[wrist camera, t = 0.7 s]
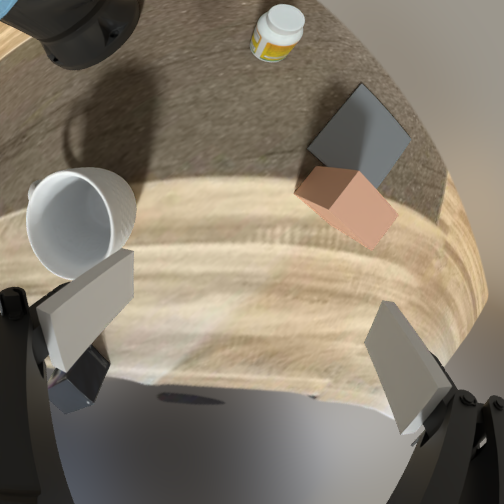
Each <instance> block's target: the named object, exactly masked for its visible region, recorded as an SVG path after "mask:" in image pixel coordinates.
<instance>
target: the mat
mask: <svg viewBox="0 0 504 504" xmlns="http://www.w3.org/2000/svg"><path fill="white" fill-rule="evenodd" d="M410 141H411V138H410V137H409V136H408V135H407V133H406V132H405V131H404V129H403V128H402V127H401V126H400V125H399V123H398V122H397V121H396V120H395V119H394V117H393V116H392V115H391V114H390V113H389V112H388V110H387V109H386V108H385V107H384V106H383V105H382V104H381V103H380V102H379V100H378V99H377V98H376V97H375V96H374V95H373V94H372V93H371V92H370V91H369V90H368V89H367V88H366V87H365V86H364V85H363V84H360V85H359V87H358V88H357V89H356V90H355V91H354V92H353V94H352V95H351V96H350V97H349V98H348V100H347V101H346V102H345V103H344V104H343V106H342V107H341V108H340V109H339V110H338V112H337V113H336V114H335V115H334V116H333V118H332V119H331V120H330V121H329V122H328V124H327V125H326V126H325V127H324V128H323V130H322V131H321V132H320V133H319V134H318V136H317V137H316V138H315V139H314V141H313V142H312V143H311V144H310V146H309V147H308V148H307V149H308V150H309V151H310V152H311V153H312V154H313V155H314V156H315V157H317V158H318V159H319V160H320V161H321V162H322V163H323V164H324V165H325V166H326V167H333V168H342V169H350V170H358V171H360V172H361V173H362V174H363V175H364V176H365V177H366V179H367V180H368V181H369V182H370V183H371V184H372V185H373V186H374V187H375V188H376V189H377V188H378V186H379V185H380V184H381V182H382V181H383V180H384V178H385V177H386V175H387V174H388V173H389V171H390V170H391V168H392V167H393V166H394V164H395V163H396V161H397V160H398V158H399V157H400V156H401V154H402V153H403V151H404V150H405V148H406V147H407V145H408V144H409V142H410Z"/></svg>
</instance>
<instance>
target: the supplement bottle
mask: <svg viewBox="0 0 504 504" xmlns="http://www.w3.org/2000/svg"><path fill="white" fill-rule="evenodd" d="M304 23H305V18H304V15H303V14H302V12H301V11H300V10H299V9H297V8H296V7H294V6H291V5H287V4H279V5H276V6H273V7H272V8H271V9H270V10H269V12H266V13H265V14H263V15H262V16H261V17H260V18H259V20H258V22H257V25H256V27H255V30H254V33H253V36H252V38H251V41H250V48H251V51H252V53H253V54H254V55H255V56H256V57H257V58H258V59H260V60H262V61H266V62H278V61H280V60H282V59H284V58H285V57H286V56H287V55H288V54H289V52H290V51H291V50H292V49H293V47H294V46H295V45H296V44H297V42H298V41H299V40H300V39H301V37H302V35H303V25H304Z"/></svg>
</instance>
